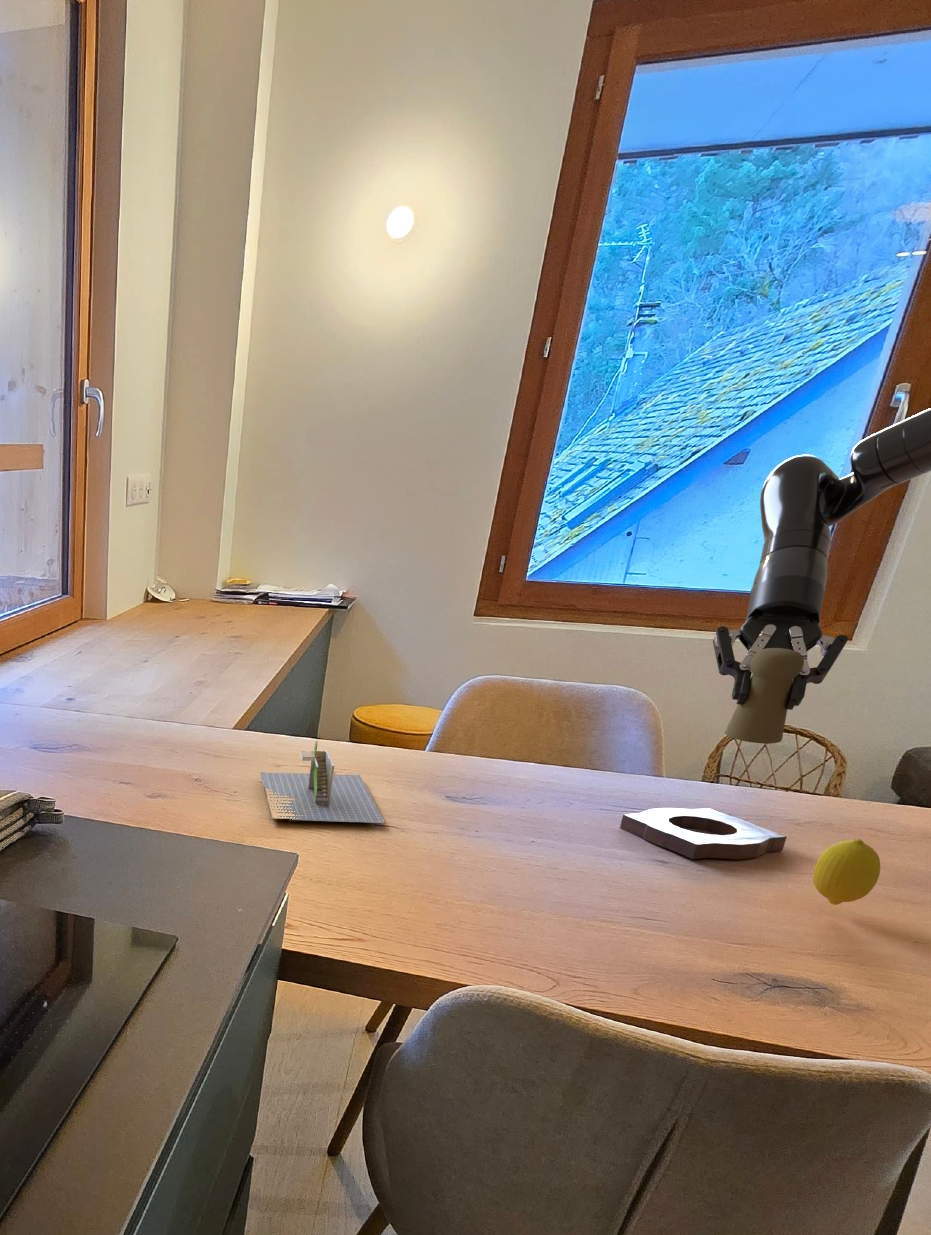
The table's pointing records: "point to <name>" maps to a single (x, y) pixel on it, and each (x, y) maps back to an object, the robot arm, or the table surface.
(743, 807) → the table surface
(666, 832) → the holder
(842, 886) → the lemon
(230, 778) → the table surface
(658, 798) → the table surface
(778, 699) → the cork
